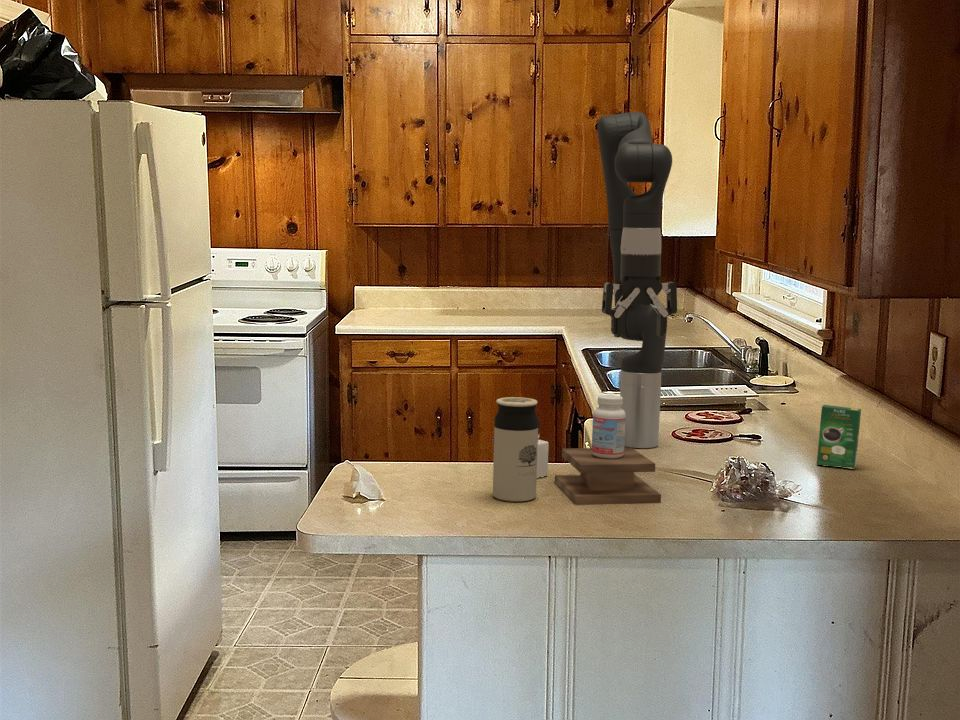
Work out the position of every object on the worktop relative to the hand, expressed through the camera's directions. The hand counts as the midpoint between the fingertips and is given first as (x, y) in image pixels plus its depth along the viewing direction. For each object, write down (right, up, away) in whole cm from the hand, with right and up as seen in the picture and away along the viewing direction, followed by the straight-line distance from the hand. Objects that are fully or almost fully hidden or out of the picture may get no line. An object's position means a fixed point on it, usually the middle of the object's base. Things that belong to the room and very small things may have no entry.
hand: (638, 336), depth 199 cm
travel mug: (-24, -30, -8) cm, 39 cm away
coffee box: (+46, -28, +23) cm, 58 cm away
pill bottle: (-6, -23, -4) cm, 24 cm away
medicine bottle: (-22, -28, +8) cm, 36 cm away
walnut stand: (-7, -29, -3) cm, 30 cm away
